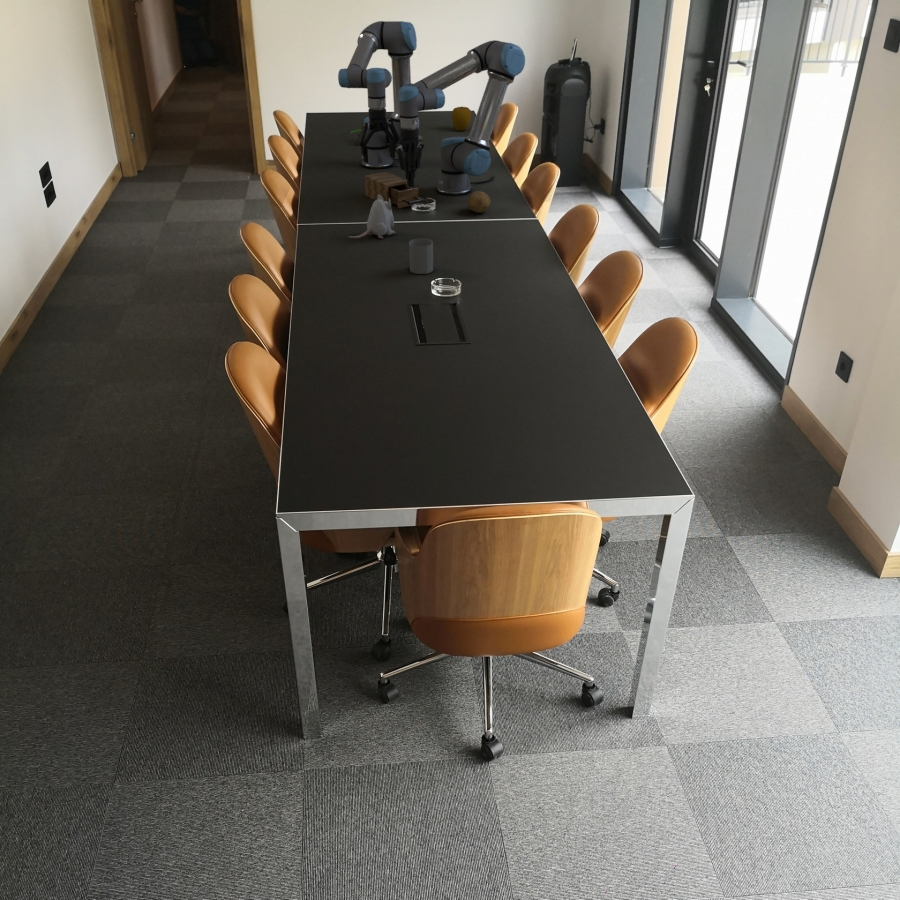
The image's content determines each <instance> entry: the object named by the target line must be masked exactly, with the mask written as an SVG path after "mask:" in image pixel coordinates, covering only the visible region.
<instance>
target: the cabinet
mask: <svg viewBox="0 0 900 900" xmlns="http://www.w3.org/2000/svg"><path fill="white" fill-rule="evenodd" d="M403 184H405V185H407V179H406V178H402V177H400V176H398V175H395V174H392V173H390V172H387V171H382V172H378V173H371V174H367V175H364V188H365V189H364V190H365V197H366V198H369V199H371V200H373V201H375V200H377V195H378V194H379V195H380V196H381V197H382V198H383V201H387V202H388V203H389V187H392V186H397V185H403ZM394 205H395V204H394V203H392V202H391V206H394Z"/></svg>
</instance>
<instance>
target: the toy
mask: <svg viewBox="0 0 900 900" xmlns="http://www.w3.org/2000/svg"><path fill="white" fill-rule="evenodd" d="M394 227H395V218H394V214H393V209H392V205H391V201H390V198H389V203H388V202H387V201H383V198H382V197H381V196H380V195H379V194H378V195H377V200H373V203H372V205H371V208H370V210H369V215H368V219H367V221H366V231H364V232H363V233H361V234H359V235H355V236H351V235H348V236H347V238H351V239H361V238H363V237H365V236H367V235H368V236H373V235H377V238H378V239H380V240H381V239H384V236H385V235H387V236H391V235H395V234H396V231H395V230H393V229H394Z"/></svg>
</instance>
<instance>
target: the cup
mask: <svg viewBox="0 0 900 900" xmlns="http://www.w3.org/2000/svg"><path fill="white" fill-rule="evenodd" d="M408 253H409V272H411V273H412V274H416V275H426V274H430V273H432V272H434V241H433V240H431V239H428V238H422V237H421V238H420V237H419V238H414V239H411V240H410V241H409V242H408Z"/></svg>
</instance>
